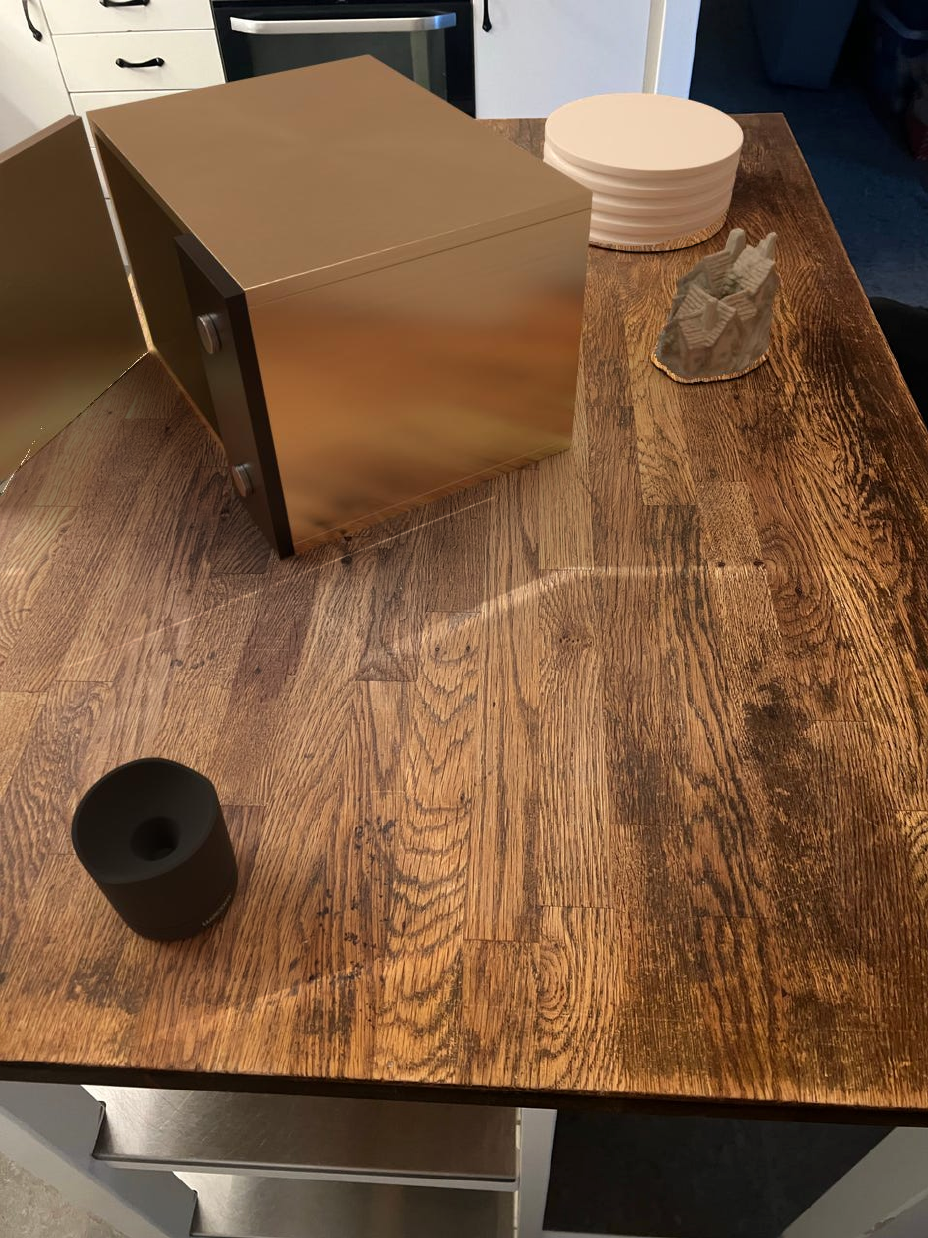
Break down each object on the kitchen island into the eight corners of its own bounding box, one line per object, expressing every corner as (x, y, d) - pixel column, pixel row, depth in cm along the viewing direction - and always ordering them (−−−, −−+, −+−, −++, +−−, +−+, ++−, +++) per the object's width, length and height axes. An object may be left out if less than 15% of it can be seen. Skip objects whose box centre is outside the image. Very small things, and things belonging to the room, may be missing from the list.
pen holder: (120, 968, 66) (75, 900, 59) (108, 852, 72) (66, 778, 65) (255, 925, 68) (228, 854, 61) (233, 816, 74) (206, 740, 67)
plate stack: (742, 253, 136) (761, 170, 127) (544, 251, 136) (550, 168, 127) (710, 170, 155) (724, 93, 146) (536, 168, 155) (541, 91, 146)
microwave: (273, 564, 93) (214, 298, 73) (133, 355, 119) (61, 115, 99) (571, 447, 106) (593, 191, 85) (386, 281, 131) (368, 53, 111)
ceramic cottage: (723, 300, 126) (741, 188, 115) (792, 369, 116) (820, 253, 105) (615, 329, 123) (623, 218, 112) (677, 402, 113) (693, 288, 102)
